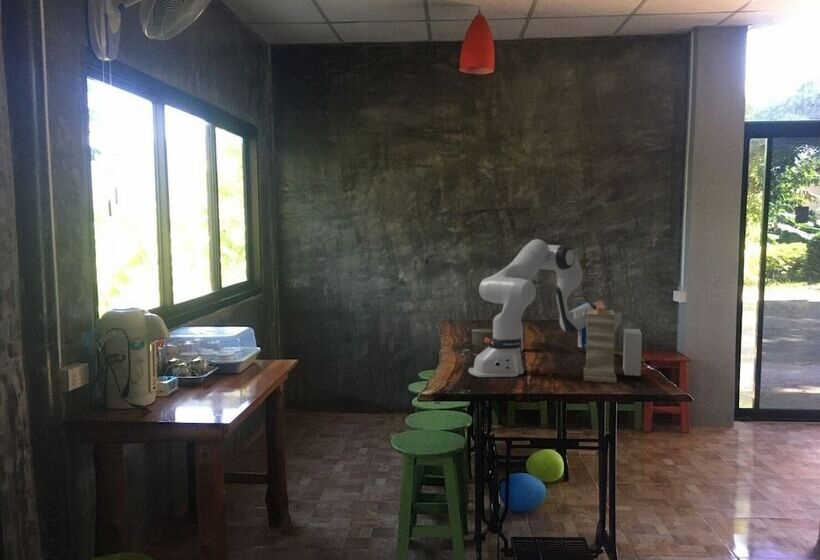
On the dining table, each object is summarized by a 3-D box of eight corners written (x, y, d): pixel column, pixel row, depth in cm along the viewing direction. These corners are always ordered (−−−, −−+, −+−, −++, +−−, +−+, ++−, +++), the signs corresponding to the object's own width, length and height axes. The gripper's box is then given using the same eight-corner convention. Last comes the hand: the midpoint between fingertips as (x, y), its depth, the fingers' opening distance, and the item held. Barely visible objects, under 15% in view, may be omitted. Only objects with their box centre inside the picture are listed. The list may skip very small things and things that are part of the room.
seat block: (640, 375, 253) (641, 333, 252) (624, 375, 255) (625, 333, 254) (638, 369, 265) (639, 329, 264) (622, 368, 266) (623, 328, 265)
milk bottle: (522, 352, 303) (523, 310, 301) (506, 351, 304) (506, 310, 303) (523, 349, 310) (523, 308, 309) (507, 348, 312) (507, 308, 310)
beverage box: (603, 348, 312) (604, 303, 310) (581, 348, 312) (582, 303, 310) (599, 345, 319) (600, 302, 317) (577, 345, 319) (578, 302, 317)
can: (494, 346, 320) (494, 332, 319) (470, 345, 322) (470, 331, 321) (495, 341, 332) (495, 328, 331) (472, 341, 334) (472, 328, 333)
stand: (616, 383, 242) (617, 315, 239) (583, 381, 245) (584, 314, 243) (613, 372, 259) (615, 309, 257) (583, 371, 262) (584, 308, 260)
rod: (604, 314, 242) (604, 308, 241) (597, 314, 242) (597, 307, 242) (602, 306, 266) (602, 300, 265) (596, 306, 266) (596, 300, 266)
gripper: (572, 316, 291) (572, 304, 279) (619, 317, 286) (621, 305, 274) (572, 329, 289) (572, 318, 277) (620, 330, 283) (622, 319, 271)
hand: (597, 311), depth 275 cm, fingers open, 8 cm apart
